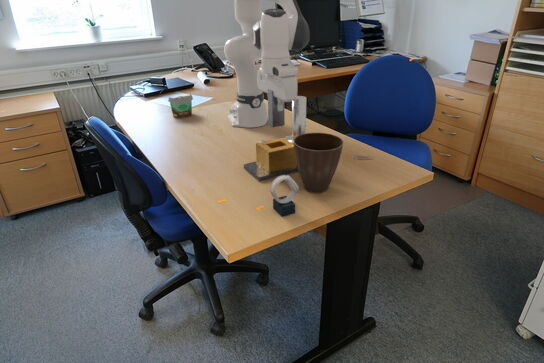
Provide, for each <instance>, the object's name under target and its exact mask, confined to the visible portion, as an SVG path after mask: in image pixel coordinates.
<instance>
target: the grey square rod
mask: <svg viewBox="0 0 544 363" xmlns="http://www.w3.org/2000/svg"><path fill="white" fill-rule="evenodd" d="M277 104H278V101H277V98H276V97H274V96H273V91H272V90H269V89H268V96H267V117H268V121H267V123H268V124H267V125H268V126H269V127H271V128H278V127H283V126H285V124H286V121H285V117H286V116H285V114H286V113H285V104H284V105H283V111H277V110H276V105H277Z"/></svg>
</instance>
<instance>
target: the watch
mask: <svg viewBox="0 0 544 363" xmlns="http://www.w3.org/2000/svg"><path fill="white" fill-rule="evenodd" d="M282 181H285V183H286V184H287V185H288V186H289V188H290V189H291V192H290V193H289V195H283V196H280V197H278V196H277V193H276V188H277V186H278V184H280V183H282ZM269 189H270V190H269V192H270V194H271V196H272V197H273V199H272V208H273V210H274V211H275V212H276V213H277V214H278V215H279V216H280V217H281V218H284V217H287V216H291V215H294V214H296V203H295V202H294V201H293V200H294V199H295V198H296V197H297V194H298V192H299V189H300V188H299V185H298V184H297V183H296V181H295V180H294V179H293V178H292V177H291V176H290V175H289V174H286V175H281V176H278V177H275V178H273V181H272V182H271V184H270V188H269Z"/></svg>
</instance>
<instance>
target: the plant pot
mask: <svg viewBox="0 0 544 363" xmlns="http://www.w3.org/2000/svg"><path fill="white" fill-rule="evenodd" d="M343 146H344V140H343V139H342V138H341V137H339V136H337V135H334V134H331V133H326V132H325V133H324V132H307V133H306V134H302V135H299V136H297V137H296V138H295V139H294V149H295V156H296V161H297V166H298V170H299V171H298V173H299V176H300V179H301V183H302V185H303V187H304V189H305V190H306V191H307V192H308V193H313V194H318V193H319V194H321V193H325V192H326V191H327V190H328V189H329V187H330V185H331V182H332V180H333V178H334V176H335V173H336V170H337V169H338V168H337V167H338V165H339V162H340V159H341V155H342V151H343Z"/></svg>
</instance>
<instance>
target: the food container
mask: <svg viewBox="0 0 544 363" xmlns="http://www.w3.org/2000/svg"><path fill="white" fill-rule="evenodd" d="M193 99H194V98H193V95H192V94H191V93H189V95H181V96H180V95H179V96H177V97H168V99H167V102H168V103H169V105H170V107H171V108H170V109H171V113H172V117H173V118H175V119H185V118H190V117H191V116H192V114H193V111H192V110H193V109H192V108H193V106H192V105H193V104H192V103H193V102H192V100H193ZM189 116H190V117H189Z"/></svg>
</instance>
